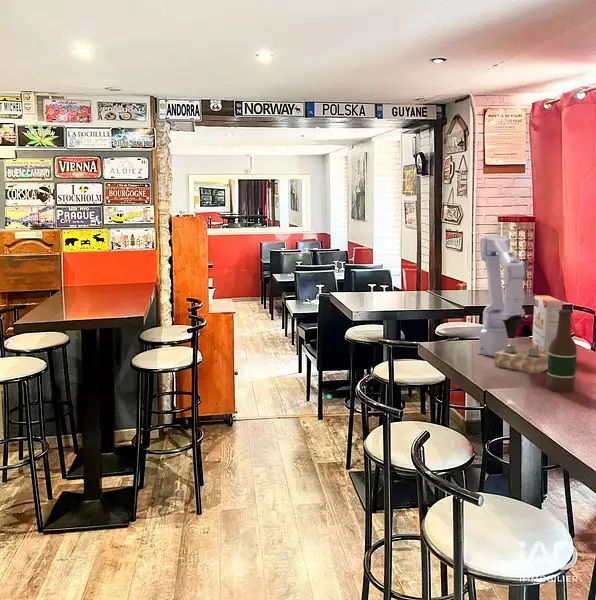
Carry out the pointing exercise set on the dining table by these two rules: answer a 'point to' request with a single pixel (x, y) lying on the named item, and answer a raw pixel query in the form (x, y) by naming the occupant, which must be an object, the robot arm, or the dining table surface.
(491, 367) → the dining table surface
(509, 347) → the peg
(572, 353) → the beer bottle
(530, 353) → the peg
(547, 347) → the cracker box
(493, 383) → the dining table surface
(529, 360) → the socket block
